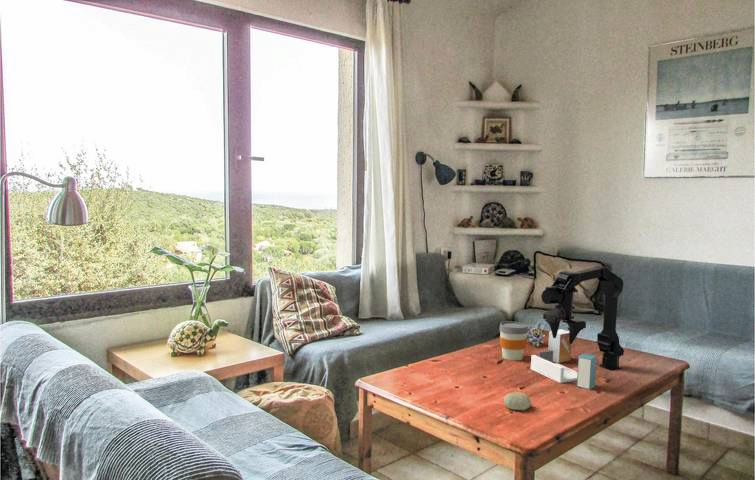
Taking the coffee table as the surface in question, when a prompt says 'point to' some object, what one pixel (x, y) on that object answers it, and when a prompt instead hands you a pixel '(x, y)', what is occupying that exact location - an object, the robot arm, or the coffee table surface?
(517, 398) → the sea urchin shell
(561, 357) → the small box
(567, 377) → the shelf
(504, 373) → the coffee table surface
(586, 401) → the coffee table surface
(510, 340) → the reusable coffee cup
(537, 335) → the passion flower
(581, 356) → the teal rectangular block
